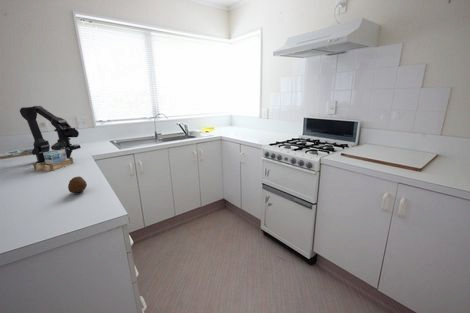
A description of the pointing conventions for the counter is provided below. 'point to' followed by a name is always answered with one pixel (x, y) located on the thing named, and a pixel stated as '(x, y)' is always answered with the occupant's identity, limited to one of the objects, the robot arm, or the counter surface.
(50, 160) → the light bulb box
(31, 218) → the counter surface
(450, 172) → the counter surface
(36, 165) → the wooden frame
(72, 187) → the potato
